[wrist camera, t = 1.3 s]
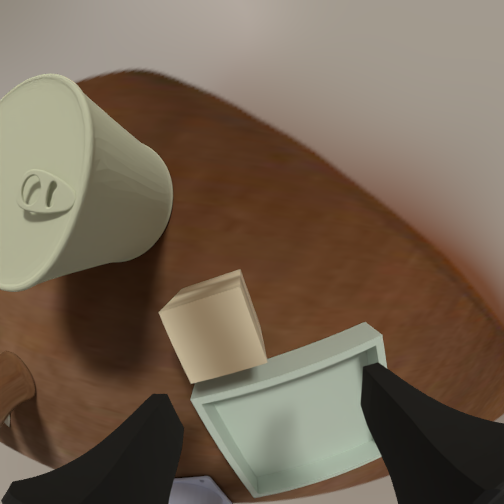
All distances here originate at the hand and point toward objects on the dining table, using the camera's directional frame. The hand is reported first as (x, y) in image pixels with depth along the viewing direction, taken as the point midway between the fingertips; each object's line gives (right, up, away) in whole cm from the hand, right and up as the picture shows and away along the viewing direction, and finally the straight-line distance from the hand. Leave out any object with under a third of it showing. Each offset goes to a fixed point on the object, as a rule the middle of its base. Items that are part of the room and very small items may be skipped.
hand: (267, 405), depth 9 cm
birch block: (-3, +2, +11) cm, 11 cm away
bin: (+4, -9, +12) cm, 15 cm away
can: (-11, +9, +10) cm, 17 cm away
